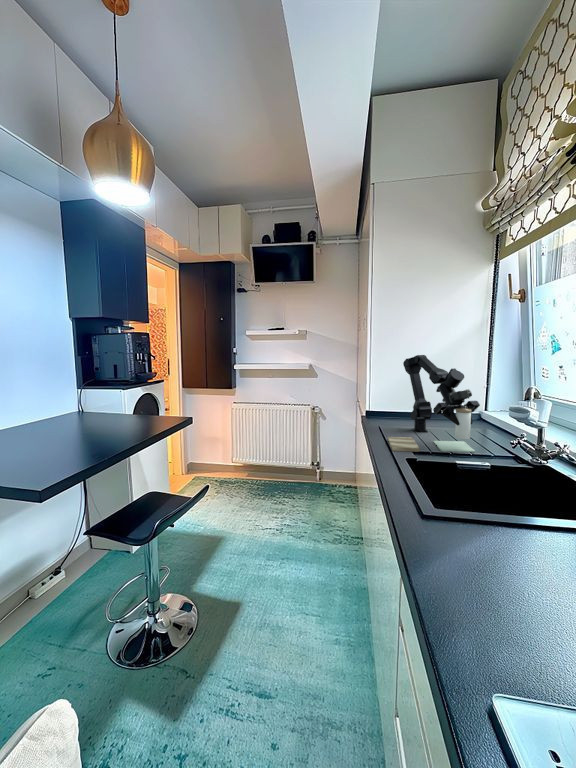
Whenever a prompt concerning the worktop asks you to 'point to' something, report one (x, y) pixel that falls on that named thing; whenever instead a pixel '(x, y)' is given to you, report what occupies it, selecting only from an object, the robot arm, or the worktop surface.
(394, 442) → the board
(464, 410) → the jar
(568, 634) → the worktop surface
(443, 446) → the mat
